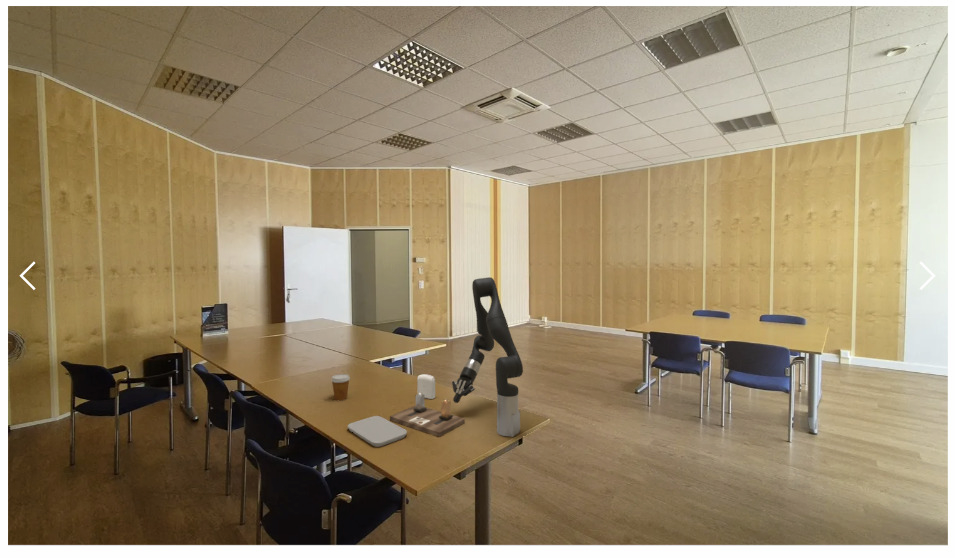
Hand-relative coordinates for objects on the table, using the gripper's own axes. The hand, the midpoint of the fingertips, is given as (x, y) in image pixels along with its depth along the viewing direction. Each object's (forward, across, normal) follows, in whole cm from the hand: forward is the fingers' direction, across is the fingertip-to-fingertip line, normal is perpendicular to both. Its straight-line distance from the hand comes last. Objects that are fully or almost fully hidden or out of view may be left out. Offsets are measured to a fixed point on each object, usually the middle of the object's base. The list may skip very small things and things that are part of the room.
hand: (455, 401), depth 192 cm
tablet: (+29, -18, -17) cm, 38 cm away
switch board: (+13, -8, -2) cm, 16 cm away
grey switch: (+9, -16, -1) cm, 18 cm away
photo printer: (-3, -30, +15) cm, 34 cm away
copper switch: (+9, 0, -1) cm, 9 cm away
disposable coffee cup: (+17, -66, -5) cm, 68 cm away
